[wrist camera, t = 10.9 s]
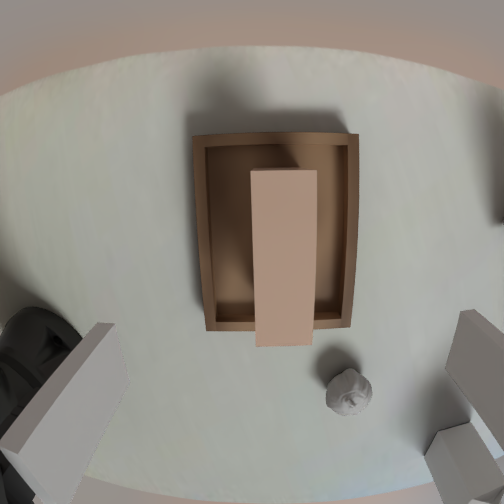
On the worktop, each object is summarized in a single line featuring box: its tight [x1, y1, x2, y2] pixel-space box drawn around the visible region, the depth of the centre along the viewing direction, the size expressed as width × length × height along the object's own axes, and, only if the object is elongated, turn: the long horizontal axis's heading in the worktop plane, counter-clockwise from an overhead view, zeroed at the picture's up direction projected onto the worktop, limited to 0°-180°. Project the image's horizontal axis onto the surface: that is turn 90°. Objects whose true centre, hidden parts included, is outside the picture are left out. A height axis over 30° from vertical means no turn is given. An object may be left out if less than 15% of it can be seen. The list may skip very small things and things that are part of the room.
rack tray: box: [192, 132, 359, 331], centre depth 29 cm, size 14×18×2 cm
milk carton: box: [424, 422, 504, 504], centre depth 29 cm, size 7×7×19 cm
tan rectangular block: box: [250, 167, 317, 347], centre depth 25 cm, size 4×12×9 cm, turn 2°
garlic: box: [326, 369, 372, 416], centre depth 32 cm, size 6×5×5 cm
